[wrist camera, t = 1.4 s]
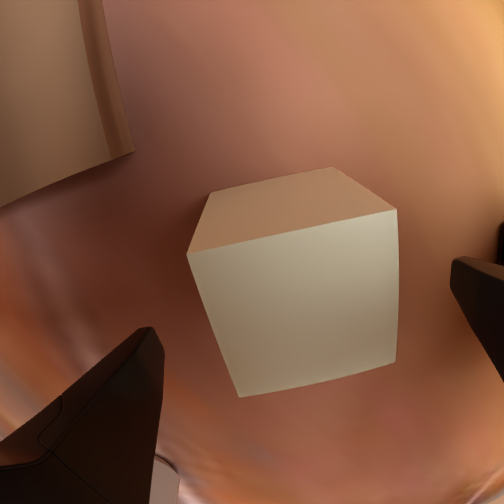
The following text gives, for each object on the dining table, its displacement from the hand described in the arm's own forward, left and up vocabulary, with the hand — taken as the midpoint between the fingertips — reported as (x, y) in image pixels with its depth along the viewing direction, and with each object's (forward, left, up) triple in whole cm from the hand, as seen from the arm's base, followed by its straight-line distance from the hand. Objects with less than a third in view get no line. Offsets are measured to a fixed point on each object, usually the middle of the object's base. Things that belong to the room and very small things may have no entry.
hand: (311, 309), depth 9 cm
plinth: (+10, -10, -6) cm, 15 cm away
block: (0, 0, -6) cm, 6 cm away
